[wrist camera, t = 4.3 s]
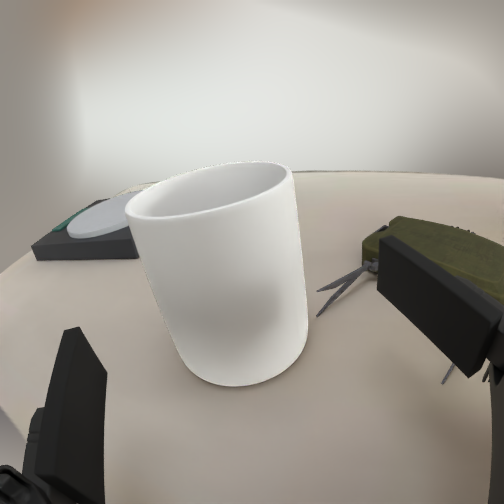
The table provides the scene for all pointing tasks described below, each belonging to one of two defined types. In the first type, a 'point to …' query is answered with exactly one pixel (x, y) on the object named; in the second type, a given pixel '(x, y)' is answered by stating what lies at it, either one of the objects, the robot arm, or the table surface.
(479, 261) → the landmine
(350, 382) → the table surface
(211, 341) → the mug
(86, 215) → the scale
